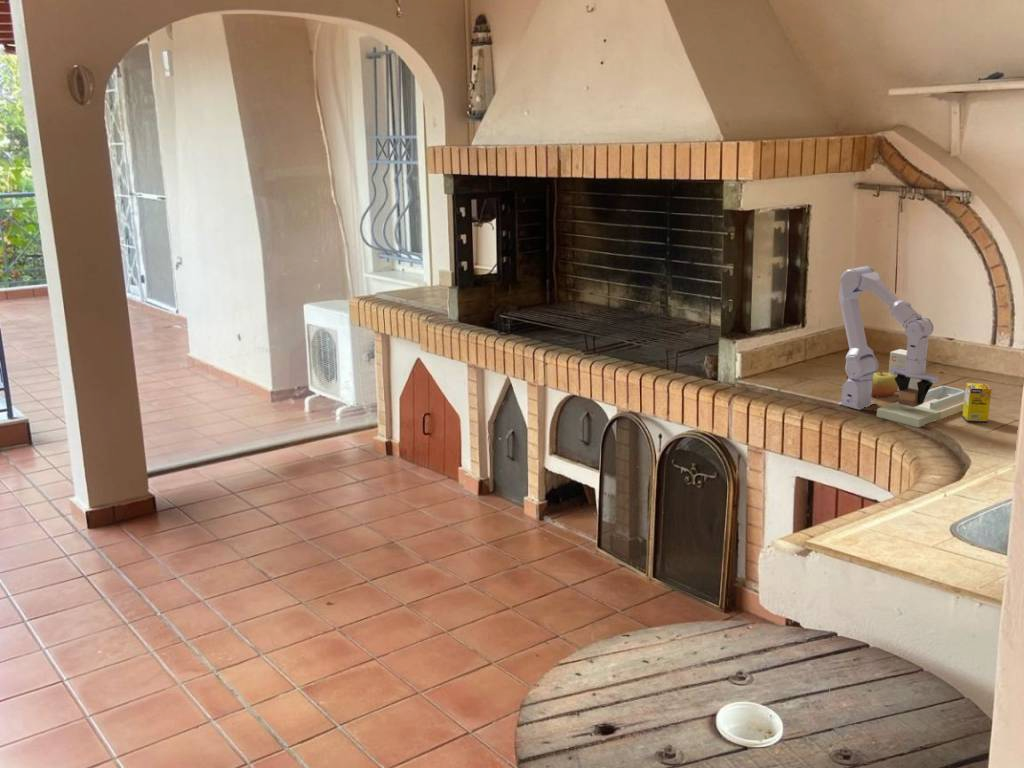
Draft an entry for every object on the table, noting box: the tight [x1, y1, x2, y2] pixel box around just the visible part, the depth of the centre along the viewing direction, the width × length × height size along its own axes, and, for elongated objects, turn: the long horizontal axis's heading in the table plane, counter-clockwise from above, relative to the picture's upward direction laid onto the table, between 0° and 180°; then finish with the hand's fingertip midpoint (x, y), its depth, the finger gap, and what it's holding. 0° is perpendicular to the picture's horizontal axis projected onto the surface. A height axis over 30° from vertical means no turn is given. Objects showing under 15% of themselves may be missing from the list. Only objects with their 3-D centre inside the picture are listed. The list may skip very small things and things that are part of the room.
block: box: [898, 388, 923, 407], centre depth 295 cm, size 5×5×4 cm
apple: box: [871, 371, 898, 398], centre depth 319 cm, size 10×10×8 cm
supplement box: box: [961, 382, 992, 424], centre depth 292 cm, size 6×6×11 cm
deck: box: [876, 384, 965, 428], centre depth 302 cm, size 32×14×4 cm, turn 127°
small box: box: [888, 348, 920, 392], centre depth 324 cm, size 8×6×13 cm
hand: (912, 401), depth 296 cm, fingers closed on block, 5 cm apart
